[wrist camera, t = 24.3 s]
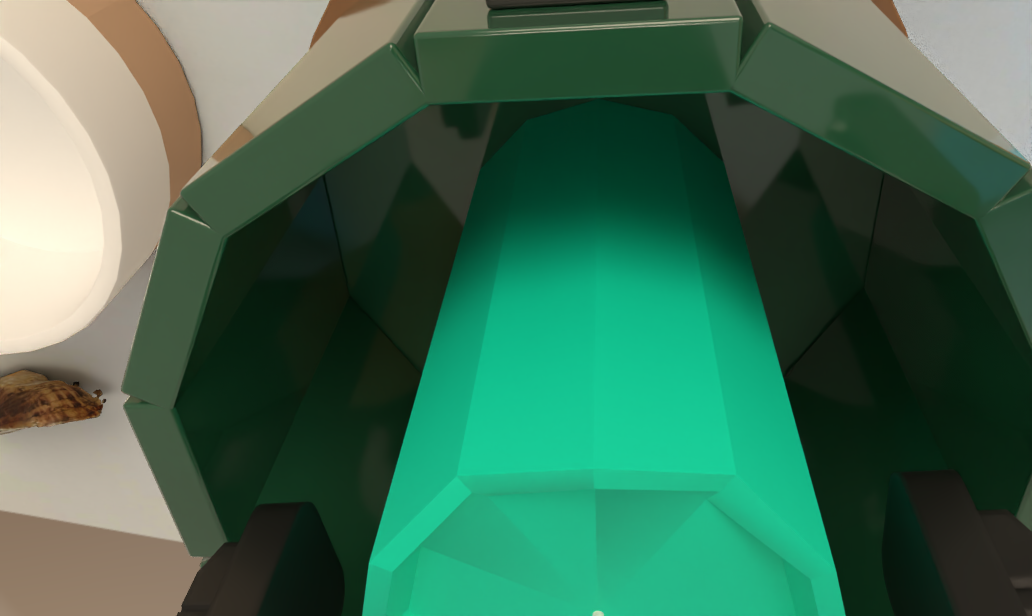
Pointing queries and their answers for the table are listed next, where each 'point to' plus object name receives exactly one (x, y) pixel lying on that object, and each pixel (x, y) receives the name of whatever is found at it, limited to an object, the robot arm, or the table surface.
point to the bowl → (83, 159)
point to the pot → (442, 214)
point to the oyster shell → (43, 402)
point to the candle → (602, 399)
